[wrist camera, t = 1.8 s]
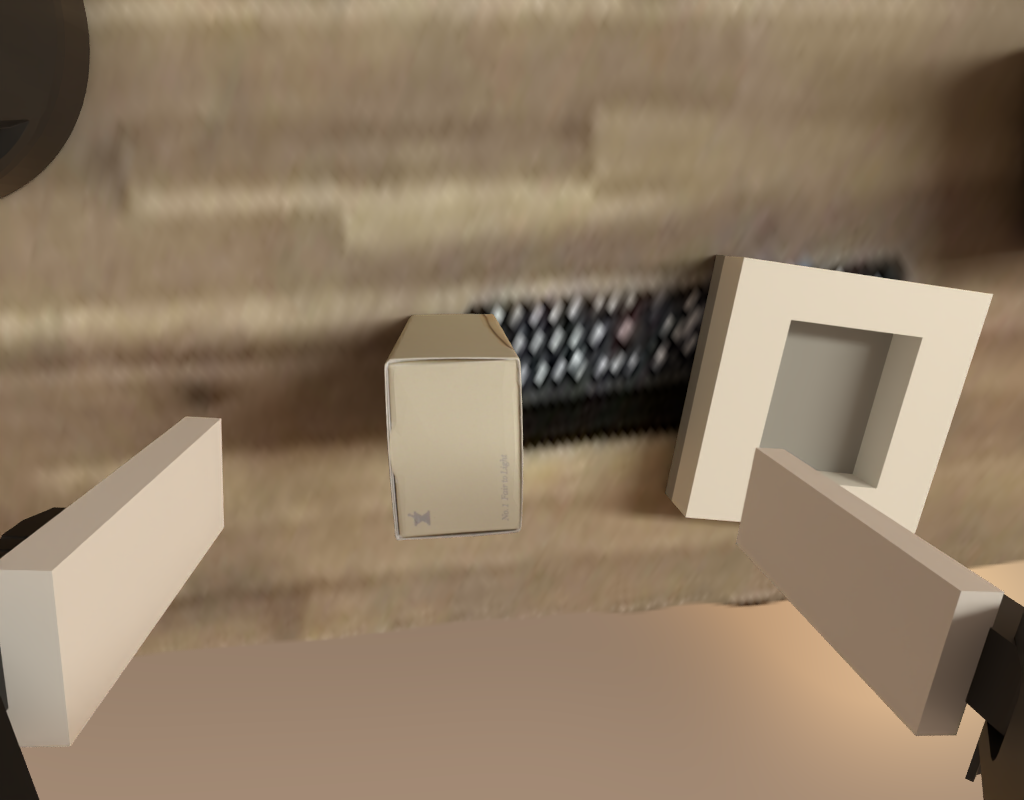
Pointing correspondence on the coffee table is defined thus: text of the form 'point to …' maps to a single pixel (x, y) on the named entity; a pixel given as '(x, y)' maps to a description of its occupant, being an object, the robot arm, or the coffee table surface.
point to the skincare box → (454, 428)
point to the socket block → (822, 383)
